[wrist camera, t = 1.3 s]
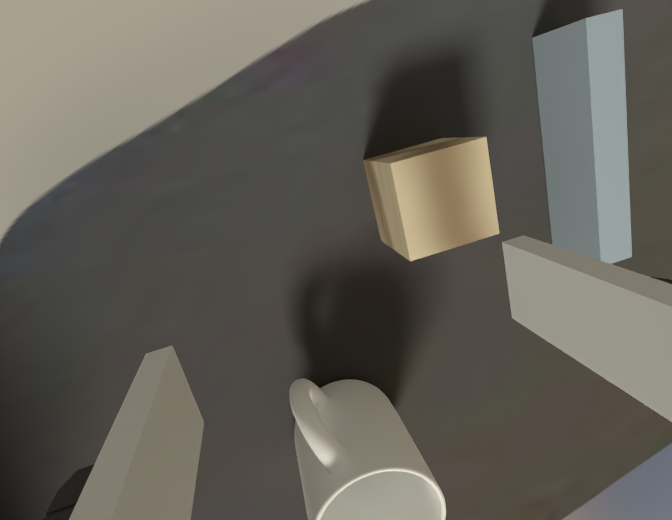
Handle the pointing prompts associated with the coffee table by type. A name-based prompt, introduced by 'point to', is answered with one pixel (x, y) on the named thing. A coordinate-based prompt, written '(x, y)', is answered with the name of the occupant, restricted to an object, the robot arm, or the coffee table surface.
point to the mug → (359, 456)
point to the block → (433, 195)
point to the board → (586, 135)
